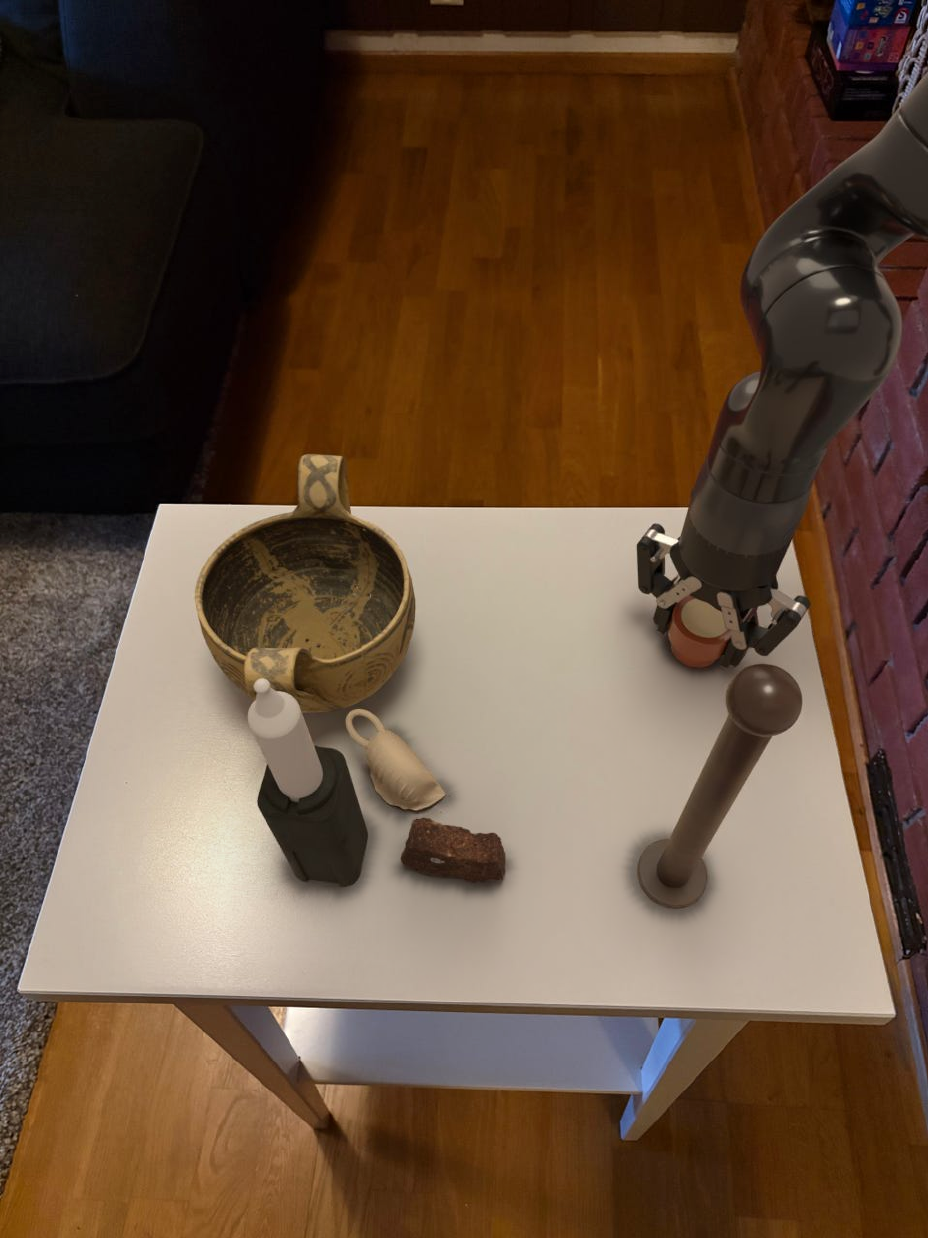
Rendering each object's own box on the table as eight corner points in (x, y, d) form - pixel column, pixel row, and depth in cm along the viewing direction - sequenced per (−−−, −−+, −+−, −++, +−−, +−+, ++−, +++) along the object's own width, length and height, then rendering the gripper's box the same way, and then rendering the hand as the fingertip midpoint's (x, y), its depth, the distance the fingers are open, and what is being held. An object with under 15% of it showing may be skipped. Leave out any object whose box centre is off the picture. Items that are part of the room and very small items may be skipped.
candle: (290, 880, 65) (198, 719, 44) (306, 815, 67) (227, 636, 47) (357, 889, 64) (295, 730, 44) (370, 823, 67) (319, 646, 46)
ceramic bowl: (405, 784, 69) (388, 688, 56) (195, 770, 70) (134, 673, 58) (433, 564, 81) (424, 446, 69) (255, 555, 83) (215, 438, 70)
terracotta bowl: (737, 641, 76) (750, 611, 72) (708, 684, 73) (720, 655, 70) (682, 611, 78) (692, 581, 74) (652, 653, 75) (661, 623, 72)
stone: (400, 872, 65) (395, 848, 61) (409, 833, 66) (404, 807, 62) (503, 889, 64) (504, 866, 60) (509, 849, 66) (510, 824, 61)
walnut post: (717, 867, 64) (844, 671, 42) (685, 922, 62) (800, 747, 39) (658, 829, 66) (749, 621, 43) (624, 881, 64) (701, 691, 41)
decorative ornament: (404, 827, 67) (399, 799, 62) (345, 749, 71) (336, 718, 66) (447, 797, 68) (444, 768, 64) (386, 722, 72) (380, 690, 68)
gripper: (862, 523, 60) (792, 654, 74) (678, 439, 65) (644, 576, 79) (818, 593, 57) (753, 717, 71) (628, 499, 62) (602, 632, 76)
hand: (696, 642), depth 75 cm, fingers closed on terracotta bowl, 5 cm apart
